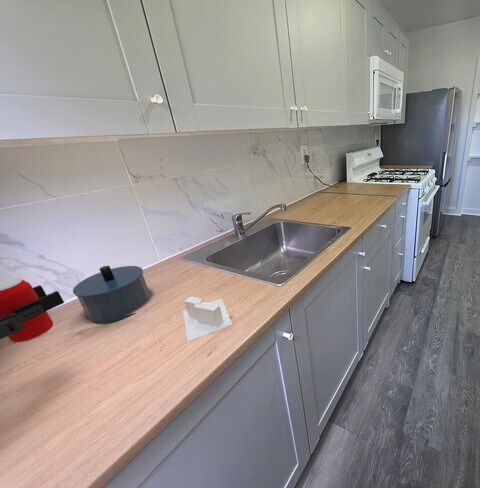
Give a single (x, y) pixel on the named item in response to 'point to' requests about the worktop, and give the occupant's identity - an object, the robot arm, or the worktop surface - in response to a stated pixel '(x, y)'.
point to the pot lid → (107, 281)
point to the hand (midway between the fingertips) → (51, 293)
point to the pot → (116, 303)
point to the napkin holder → (204, 317)
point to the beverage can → (16, 295)
